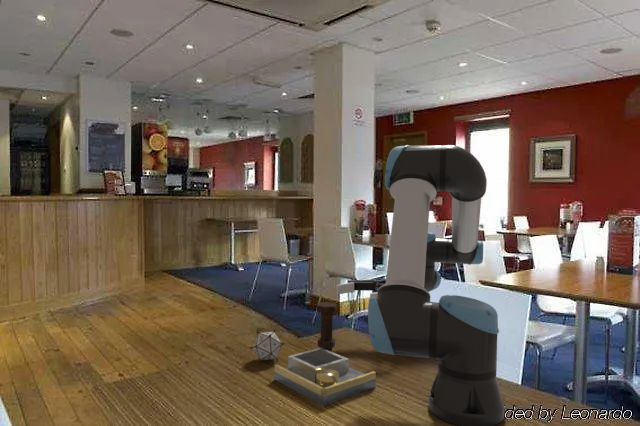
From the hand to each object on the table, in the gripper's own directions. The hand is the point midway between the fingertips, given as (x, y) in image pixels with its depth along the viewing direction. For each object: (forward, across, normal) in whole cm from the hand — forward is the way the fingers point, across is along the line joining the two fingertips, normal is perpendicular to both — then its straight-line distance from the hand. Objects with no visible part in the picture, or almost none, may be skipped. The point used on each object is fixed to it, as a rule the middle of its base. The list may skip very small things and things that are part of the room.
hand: (353, 294), depth 136 cm
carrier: (+21, -12, -16) cm, 29 cm away
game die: (+23, +9, -16) cm, 30 cm away
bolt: (+10, 0, -16) cm, 19 cm away
